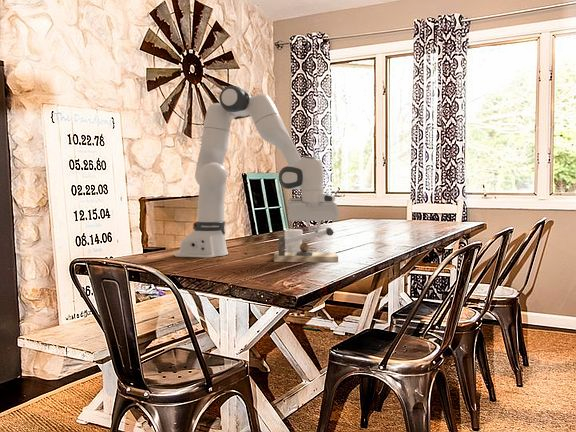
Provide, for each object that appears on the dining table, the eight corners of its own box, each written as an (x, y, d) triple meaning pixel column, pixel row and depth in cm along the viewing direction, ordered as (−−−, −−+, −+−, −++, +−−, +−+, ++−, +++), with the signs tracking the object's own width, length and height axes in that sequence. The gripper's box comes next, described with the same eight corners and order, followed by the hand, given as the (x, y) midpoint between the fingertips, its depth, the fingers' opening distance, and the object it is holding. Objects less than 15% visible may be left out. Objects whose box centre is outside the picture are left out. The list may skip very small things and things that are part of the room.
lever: (279, 247, 217) (278, 240, 217) (279, 244, 224) (278, 238, 224) (334, 234, 217) (332, 228, 217) (332, 233, 224) (331, 226, 223)
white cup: (300, 254, 235) (300, 231, 235) (282, 253, 237) (282, 230, 236) (304, 251, 243) (304, 229, 242) (286, 251, 245) (286, 228, 244)
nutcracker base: (274, 261, 215) (273, 238, 214) (274, 257, 227) (274, 235, 226) (338, 261, 215) (338, 238, 214) (335, 257, 227) (335, 235, 226)
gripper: (286, 198, 216) (287, 233, 217) (338, 197, 216) (339, 232, 217) (286, 197, 222) (287, 231, 223) (337, 196, 222) (337, 230, 223)
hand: (313, 232), depth 220 cm, fingers closed
